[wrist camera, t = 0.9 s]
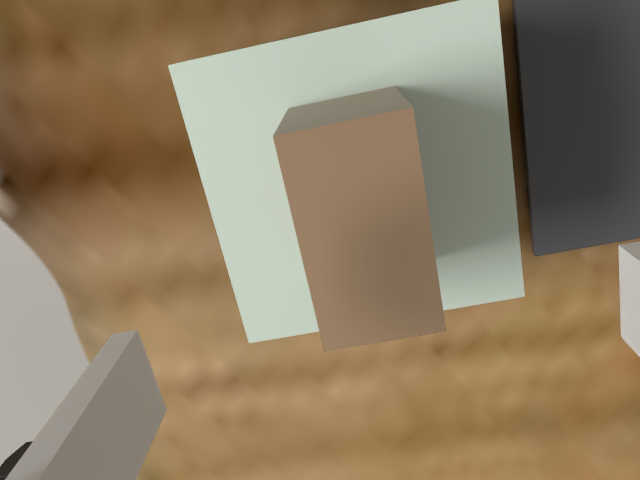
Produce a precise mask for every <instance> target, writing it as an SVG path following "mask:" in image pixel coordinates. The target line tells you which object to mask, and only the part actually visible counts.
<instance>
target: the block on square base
mask: <svg viewBox="0 0 640 480" xmlns="http://www.w3.org/2000/svg"><path fill="white" fill-rule="evenodd" d="M168 67H169V70H170V74H171V77H172V81H173V84H174V87H175V91H176V94H177V98H178V101H179V105H180V108H181V111H182V115H183V118H184V122H185V125H186V129H187V132H188V135H189V139H190V142H191V146H192V149H193V153H194V156H195V159H196V163H197V166H198V170H199V173H200V177H201V180H202V184H203V187H204V190H205V194H206V197H207V201H208V204H209V208H210V211H211V214H212V218H213V221H214V225H215V228H216V232H217V235H218V238H219V242H220V245H221V249H222V252H223V256H224V259H225V262H226V266H227V269H228V273H229V276H230V280H231V283H232V286H233V290H234V293H235V297H236V300H237V304H238V307H239V310H240V314H241V317H242V321H243V324H244V328H245V331H246V334H247V338H248V341H249V343H253V342H259V341H265V340H271V339H277V338H283V337H289V336H295V335H300V334H306V333H312V332H318V331H319V332H320V336H321V341H322V345H323V349H324V351H330V350H336V349H342V348H348V347H354V346H360V345H366V344H372V343H378V342H385V341H391V340H397V339H403V338H409V337H415V336H421V335H427V334H433V333H439V332H445V331H446V326H445V319H444V312H443V310H448V309H454V308H460V307H466V306H472V305H478V304H484V303H490V302H496V301H502V300H508V299H514V298H519V297H525V295H524V283H523V272H522V261H521V250H520V239H519V228H518V217H517V205H516V194H515V183H514V172H513V161H512V150H511V139H510V127H509V116H508V105H507V94H506V83H505V72H504V61H503V49H502V38H501V27H500V16H499V5H498V0H458V1H454V2H449V3H445V4H440V5H436V6H431V7H427V8H422V9H418V10H413V11H409V12H404V13H400V14H395V15H391V16H386V17H382V18H377V19H373V20H368V21H364V22H359V23H355V24H350V25H346V26H341V27H337V28H332V29H328V30H323V31H319V32H314V33H310V34H305V35H301V36H296V37H292V38H287V39H283V40H278V41H274V42H269V43H265V44H260V45H256V46H252V47H247V48H243V49H238V50H234V51H229V52H225V53H220V54H216V55H211V56H207V57H202V58H198V59H193V60H189V61H184V62H180V63H175V64H171V65H168Z"/></svg>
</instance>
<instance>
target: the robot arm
mask: <svg viewBox="0 0 640 480" xmlns="http://www.w3.org/2000/svg"><path fill="white" fill-rule="evenodd" d="M619 280H620V315H621V337H622V338H623V339H624V341H625V342H626V343H627V344H628V345H629V346H630V347H631V348H632V349H633V350H634V351H635V353H636V354H637V355H638V356H639V357H640V241H639V242H633V243H627V244H622V245H619ZM166 410H167V409H166V407H165V404H164V401H163V398H162V396H161V393H160V390H159V387H158V385H157V382H156V379H155V376H154V374H153V371H152V368H151V365H150V363H149V360H148V357H147V354H146V352H145V349H144V346H143V343H142V341H141V338H140V335H139V332H138V330H133V331H127V332H121V333H116V334H112V335H111V336H110V337H109V339H108V340H107V341H106V343H105V344H104V346H103V347H102V348H101V350H100V351H99V352H98V354H97V355H96V356H95V358H94V359H93V360H92V362H91V363H90V365H89V366H88V367H87V369H86V370H85V371H84V373H83V374H82V375H81V377H80V378H79V380H78V381H77V383H76V384H75V385H74V386H73V388H72V389H71V390H70V392H69V393H68V395H67V396H66V397H65V399H64V400H63V402H62V403H61V404H60V405H59V407H58V409H56V411H55V412H54V414H53V415H52V416H51V418H50V419H49V420H48V422H47V423H46V425H45V426H44V427H43V429H42V430H41V431H40V433H39V434H38V435H37V437H36V438H35V439H34V441H32V442H26V443H25V444H24V445H22V446H21V447H20V448H19V449H18V450H16V451H15V452H14V453H13V454H12V455H11V456H10V457H8V458H7V459H6V460H5V461H4V463H3V464H2V465H1V467H0V480H136V477H137V475H138V473H139V471H140V468H141V466H142V464H143V462H144V459H145V457H146V455H147V453H148V450H149V448H150V446H151V444H152V441H153V439H154V437H155V435H156V432H157V430H158V428H159V426H160V423H161V421H162V419H163V417H164V414H165V412H166Z"/></svg>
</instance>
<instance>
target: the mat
mask: <svg viewBox="0 0 640 480" xmlns="http://www.w3.org/2000/svg"><path fill="white" fill-rule="evenodd" d="M512 2H513V14H514V27H515V39H516V51H517V63H518V76H519V88H520V100H521V113H522V125H523V137H524V149H525V162H526V174H527V186H528V198H529V211H530V223H531V235H532V248H533V254H534V255H535V256H540V255H546V254H552V253H557V252H563V251H569V250H574V249H580V248H586V247H592V246H597V245H603V244H609V243H614V242H620V241H626V240H631V239H637V238H640V0H512Z"/></svg>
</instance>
